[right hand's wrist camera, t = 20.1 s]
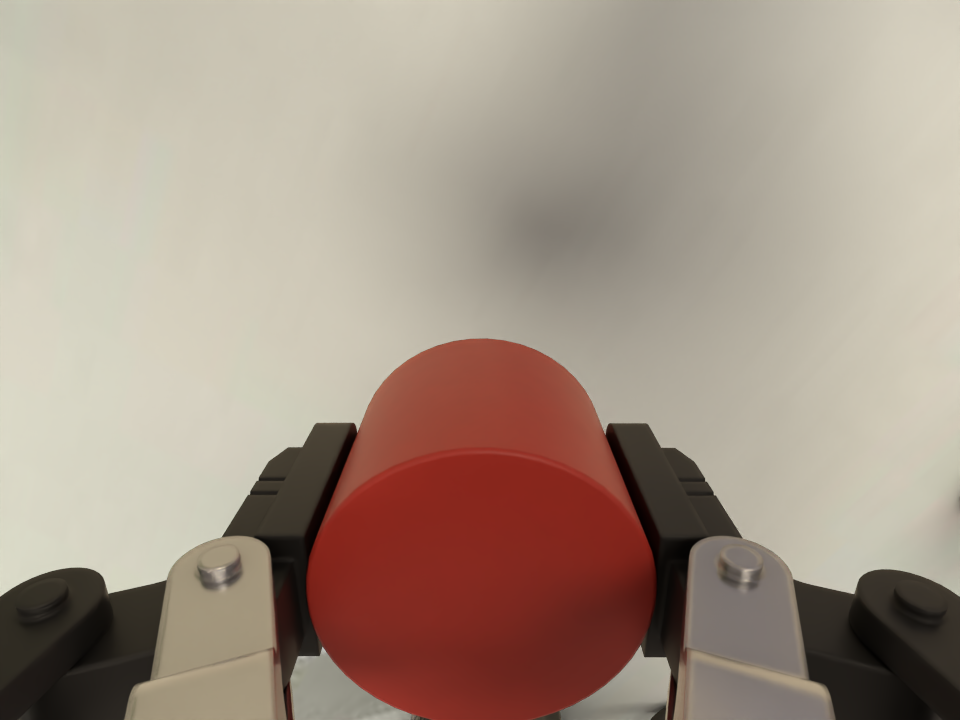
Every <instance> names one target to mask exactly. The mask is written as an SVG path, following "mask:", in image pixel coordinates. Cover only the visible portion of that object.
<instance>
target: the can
mask: <svg viewBox="0 0 960 720" xmlns="http://www.w3.org/2000/svg"><path fill="white" fill-rule="evenodd" d="M656 593H657V577H656V567H655V563H654V558H653V554H652V550H651V548H650V545H649V543H648V540H647V538H646V535H645V533H644V530H643V528H642V525H641V523H640V520H639V518H638V515H637V513H636V510H635V508H634V506H633V503H632V501H631V498H630V496H629V493H628V491H627V488H626V486H625V483H624V481H623V478H622V476H621V473H620V471H619V468H618V466H617V463H616V461H615V458H614V456H613V453H612V451H611V448H610V446H609V443H608V441H607V438H606V436H605V433H604V431H603V428H602V426H601V423H600V421H599V418H598V416H597V413H596V411H595V408H594V406H593V403H592V401H591V400H590V398H589V396H588V395H587V393H586V391H585V390H584V388H583V387H582V386H581V385H580V383H579V382H578V381H577V380H576V378H575V377H574V376H573V375H572V374H571V373H569V372H568V371H567V370H566V369H565V368H564V367H563V366H561V365H560V364H559V363H557V362H556V361H554V360H553V359H552V358H550V357H548V356H546V355H544V354H543V353H541V352H539V351H537V350H534V349H532V348H529V347H526V346H524V345H521V344H517V343H513V342H509V341H504V340H495V339H466V340H459V341H453V342H449V343H445V344H442V345H438V346H435V347H433V348H430V349H428V350H426V351H423V352H421V353H419V354H418V355H416V356H414V357H412V358H411V359H409V360H407V361H406V362H405V363H403V364H402V365H401V366H399V367H398V368H397V369H396V370H394V371H393V372H392V373H391V375H390V376H389V377H388V378H387V379H386V380H385V381H384V382H383V383H382V385H381V386H380V387H379V389H378V390H377V391H376V393H375V394H374V396H373V398H372V400H371V402H370V404H369V405H368V408H367V410H366V413H365V415H364V418H363V420H362V423H361V426H360V428H359V431H358V433H357V436H356V438H355V441H354V443H353V446H352V448H351V451H350V453H349V456H348V458H347V461H346V463H345V466H344V468H343V471H342V473H341V476H340V478H339V481H338V483H337V486H336V488H335V491H334V494H333V496H332V499H331V501H330V504H329V506H328V509H327V511H326V514H325V516H324V519H323V521H322V524H321V526H320V529H319V531H318V534H317V536H316V539H315V542H314V545H313V547H312V550H311V553H310V556H309V561H308V566H307V572H306V597H307V604H308V610H309V615H310V618H311V621H312V624H313V627H314V630H315V632H316V634H317V636H318V638H319V640H320V642H321V644H322V646H323V648H324V649H325V650H326V652H327V653H328V655H329V656H330V658H331V659H332V660H333V662H334V663H335V664H336V665H337V666H338V667H339V668H340V669H341V670H342V671H343V673H344V674H345V675H346V676H347V677H349V678H350V679H351V680H352V681H353V682H355V683H356V684H357V685H358V686H359V687H361V688H362V689H363V690H365V691H367V692H368V693H370V694H371V695H373V696H374V697H376V698H377V699H379V700H381V701H383V702H385V703H387V704H389V705H391V706H393V707H395V708H397V709H400V710H403V711H405V712H408V713H410V714H413V715H416V716H420V717H424V718H427V719H431V720H531V719H536V718H539V717H542V716H546V715H549V714H552V713H555V712H558V711H560V710H562V709H565V708H567V707H570V706H572V705H574V704H576V703H578V702H579V701H581V700H583V699H585V698H587V697H589V696H590V695H592V694H593V693H595V692H596V691H597V690H599V689H600V688H602V687H603V686H605V685H606V684H607V683H608V682H609V681H610V680H612V679H613V678H614V677H615V676H616V675H617V674H618V673H619V672H620V671H621V670H622V669H623V668H624V667H625V666H626V664H627V663H628V662H629V661H630V660H631V659H632V657H633V656H634V654H635V653H636V651H637V650H638V648H639V647H640V645H641V644H642V642H643V639H644V637H645V635H646V633H647V631H648V629H649V626H650V623H651V619H652V616H653V612H654V609H655V602H656Z"/></svg>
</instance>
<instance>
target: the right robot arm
mask: <svg viewBox="0 0 960 720" xmlns="http://www.w3.org/2000/svg"><path fill="white" fill-rule="evenodd" d="M356 436H357V429H356V426H355V424H354V423H316V424H315V425H314V427H313V429H312V431H311V433H310V434H309V436H308V438H307V440H306V442H305V444H304V445H303V447H288V448H287V449H286V450H284V451H283V452H281V453H280V454H279V455H277V456H276V457H274V458H273V459H272V460H270V461H269V462H268V464H267V465H266V467H265V469H264V470H263V472H262V473H261V475H260V477H259V481H256V483H255V485H254V486H253V488H252V490H251V491H250V495H248V496H247V498H246V499H245V501H244V502H243V504H242V506H241V507H240V509H239V510H238V512H237V514H236V515H235V517H234V518H233V520H232V522H231V523H230V525H229V526H228V528H227V530H226V531H225V533H224V535H223V536H222V538H218V539H214V540H211V541H208V542H206V543H203V544H201V545H199V546H197V547H195V548H193V549H192V550H190V551H188V552H187V553H186V554H184V555H183V556H182V557H181V558H180V559H179V560H177V561H176V563H175V564H174V565H173V566H172V568H171V570H170V572H169V574H168V577H167V580H165V581H162V582H159V583H155V584H151V585H146V586H142V587H137V588H133V589H128V590H124V591H119V592H114V593H110V594H108V592H107V588H106V585H105V581H104V579H103V577H102V576H101V575H100V574H99V573H98V572H96V571H94V570H91V569H88V568H66V569H60V570H55V571H51V572H48V573H45V574H42V575H39V576H36V577H34V578H31V579H29V580H27V581H25V582H23V583H21V584H19V585H18V586H16V587H14V588H12V589H11V590H9V591H8V592H6V593H5V594H3V595H2V596H1V597H0V720H295V716H294V705H293V694H292V686H291V680H290V677H291V675H292V672H293V669H294V666H295V663H296V660H297V657H298V656H320V653H321V650H322V644H321V642H320V640H319V638H318V636H317V634H316V632H315V630H314V627H313V624H312V621H311V618H310V615H309V610H308V604H307V597H306V572H307V566H308V561H309V556H310V553H311V550H312V547H313V545H314V542H315V539H316V536H317V534H318V531H319V529H320V526H321V524H322V521H323V519H324V516H325V514H326V511H327V509H328V506H329V504H330V501H331V499H332V496H333V494H334V491H335V488H336V486H337V483H338V481H339V478H340V476H341V473H342V471H343V468H344V466H345V463H346V461H347V458H348V456H349V453H350V451H351V448H352V446H353V443H354V441H355V438H356ZM606 438H607V441H608V443H609V446H610V448H611V451H612V453H613V456H614V458H615V461H616V463H617V466H618V468H619V471H620V473H621V476H622V478H623V481H624V483H625V486H626V488H627V491H628V493H629V496H630V498H631V501H632V503H633V506H634V508H635V510H636V513H637V515H638V518H639V520H640V523H641V525H642V528H643V530H644V533H645V535H646V538H647V540H648V543H649V545H650V548H651V550H652V554H653V558H654V563H655V567H656V577H657V593H656V602H655V609H654V612H653V616H652V619H651V623H650V626H649V629H648V631H647V633H646V635H645V637H644V639H643V642H642V644H641V647H642V651H643V654H644V657H667V660H668V663H669V666H670V669H671V674H670V680H669V686H668V694H667V705H666V708H664V709H662V710H661V711H659V712H658V713H657V714H655V715H654V716H653V717H652V719H651V720H960V597H959V596H958V595H956V594H955V593H953V592H952V591H950V590H949V589H947V588H945V587H943V586H942V585H940V584H938V583H936V582H933V581H931V580H929V579H926V578H924V577H921V576H918V575H915V574H912V573H908V572H903V571H898V570H884V569H882V570H874V571H871V572H868V573H866V574H864V575H863V576H862V577H861V578H860V579H859V581H858V584H857V587H856V591H855V594H850V593H846V592H841V591H836V590H832V589H827V588H823V587H818V586H814V585H810V584H806V583H802V582H799V581H796V580H794V579H793V577H792V574H791V572H790V570H789V568H788V566H787V565H786V564H785V563H784V561H783V560H781V559H780V558H779V557H778V556H777V555H776V554H774V553H773V552H772V551H770V550H768V549H767V548H765V547H763V546H761V545H759V544H757V543H754V542H752V541H749V540H746V539H743V538H742V536H741V535H740V533H739V532H738V530H737V529H736V527H735V525H734V524H733V522H732V521H731V519H730V517H729V516H728V514H727V513H726V511H725V509H724V508H723V506H722V505H721V503H720V502H719V500H718V498H717V497H716V496H714V494H713V490H712V489H711V487H710V486H709V484H708V483H707V482H705V478H704V476H703V475H702V473H701V471H700V470H699V468H698V467H697V465H696V464H695V462H694V461H692V460H691V459H690V458H688V457H687V456H685V455H684V454H683V453H681V452H680V451H678V450H677V449H676V448H661V447H660V445H659V443H658V442H657V440H656V438H655V436H654V434H653V433H652V431H651V429H650V427H649V426H648V424H646V423H610V424H608V426H607V430H606ZM411 720H431V719H427V718H424V717H420V716H416V715H413V714H412V719H411ZM531 720H561V717H560V711H558V712H555V713H552V714H549V715H546V716H542V717H539V718H536V719H531Z"/></svg>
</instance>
